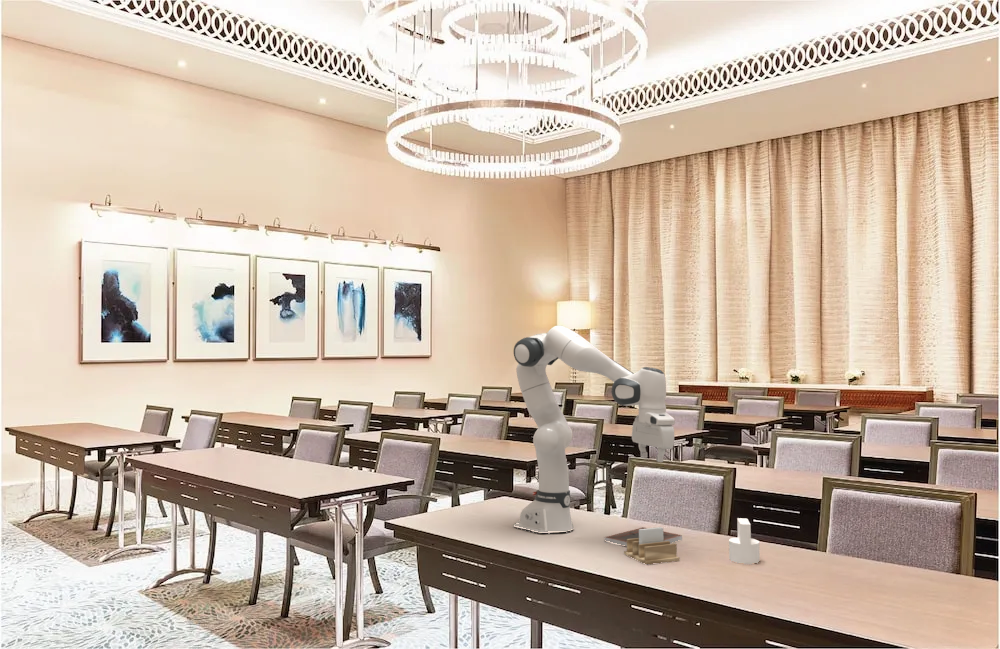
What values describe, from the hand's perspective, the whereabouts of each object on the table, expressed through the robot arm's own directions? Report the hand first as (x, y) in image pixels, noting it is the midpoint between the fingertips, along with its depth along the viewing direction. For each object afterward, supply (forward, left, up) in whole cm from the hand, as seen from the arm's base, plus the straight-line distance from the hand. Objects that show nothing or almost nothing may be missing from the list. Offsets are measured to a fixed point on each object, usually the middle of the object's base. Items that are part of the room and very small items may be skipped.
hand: (651, 459), depth 247 cm
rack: (+4, -8, -29) cm, 31 cm away
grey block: (+4, -8, -28) cm, 30 cm away
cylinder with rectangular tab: (+28, +7, -30) cm, 41 cm away
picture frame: (-9, +10, -30) cm, 33 cm away
